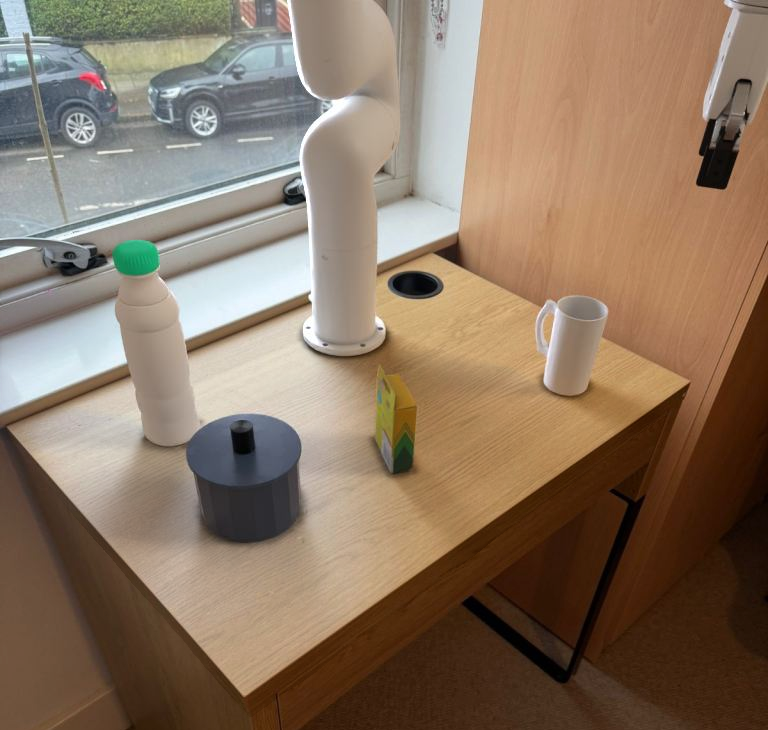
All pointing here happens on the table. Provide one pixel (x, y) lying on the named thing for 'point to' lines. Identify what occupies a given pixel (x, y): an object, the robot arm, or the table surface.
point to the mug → (571, 342)
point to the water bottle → (154, 346)
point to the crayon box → (395, 422)
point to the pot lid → (243, 451)
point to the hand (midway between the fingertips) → (711, 171)
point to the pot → (251, 508)
